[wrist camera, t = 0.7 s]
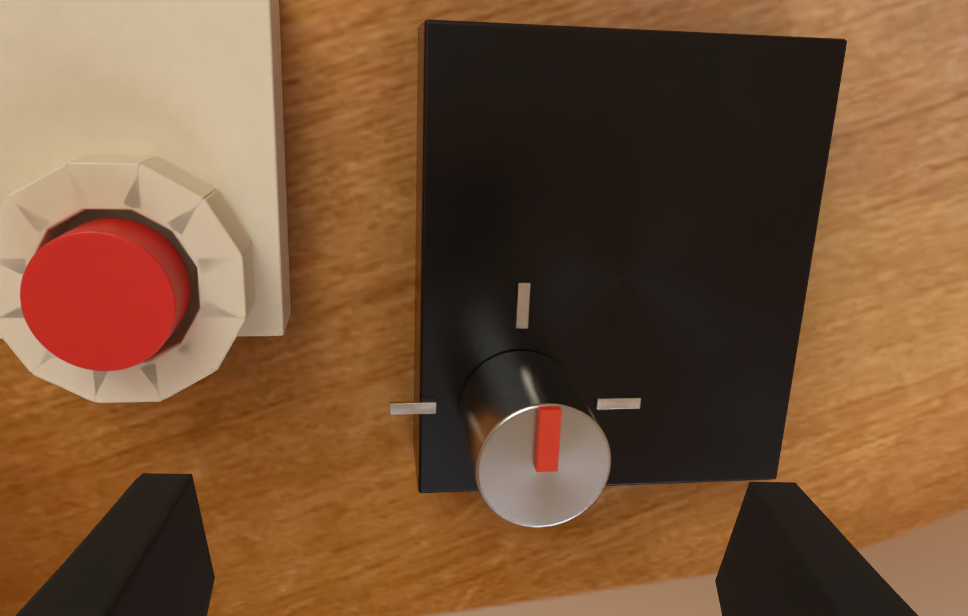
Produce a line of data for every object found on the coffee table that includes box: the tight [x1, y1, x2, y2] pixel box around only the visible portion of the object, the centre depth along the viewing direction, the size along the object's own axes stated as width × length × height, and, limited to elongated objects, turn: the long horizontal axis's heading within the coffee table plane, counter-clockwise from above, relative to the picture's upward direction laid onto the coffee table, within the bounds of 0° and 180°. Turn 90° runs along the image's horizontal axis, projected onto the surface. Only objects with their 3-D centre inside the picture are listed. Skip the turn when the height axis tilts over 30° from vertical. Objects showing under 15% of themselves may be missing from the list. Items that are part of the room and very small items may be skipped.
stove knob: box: [459, 351, 611, 528], centre depth 22 cm, size 4×4×4 cm
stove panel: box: [389, 20, 847, 493], centre depth 25 cm, size 15×13×3 cm
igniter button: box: [20, 218, 191, 371], centre depth 20 cm, size 4×4×2 cm
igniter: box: [0, 0, 291, 403], centre depth 22 cm, size 11×8×4 cm
